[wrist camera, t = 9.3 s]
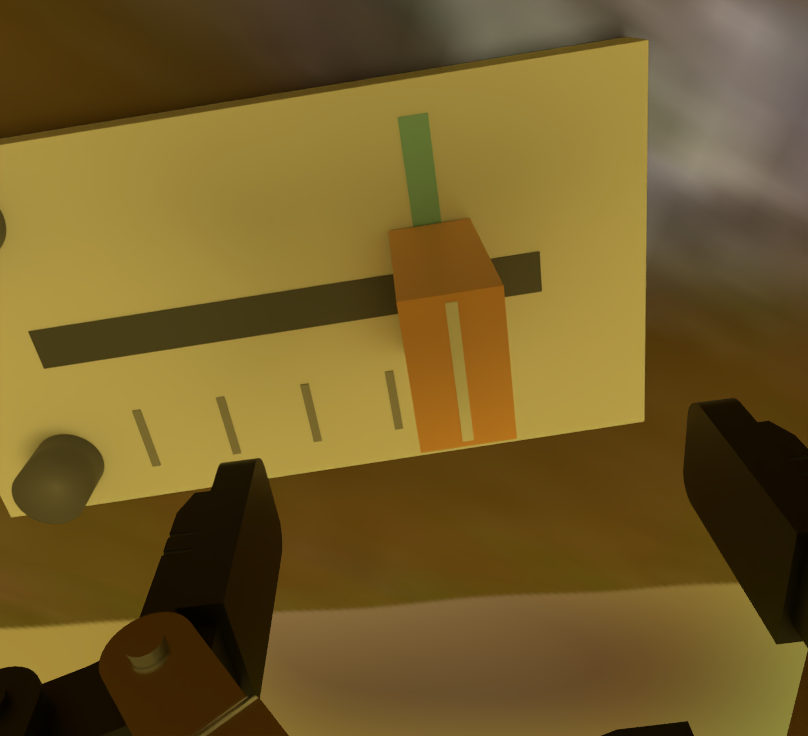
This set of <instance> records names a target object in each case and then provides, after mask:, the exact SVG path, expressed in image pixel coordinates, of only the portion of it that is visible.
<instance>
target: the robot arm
mask: <svg viewBox="0 0 808 736" xmlns="http://www.w3.org/2000/svg"><path fill="white" fill-rule="evenodd" d="M683 475H684V483H685V488H686V492H687V495H688V498H689V500H690V503H691V504H692V506H693V508H694V509H695V511H696V513H697V514H698V516H699V518H700V519H701V521H702V523H703V524H704V526H705V527H706V529H707V531H708V532H709V534H710V536H711V537H712V539H713V541H714V542H715V544H716V546H717V547H718V549H719V550H720V552H721V554H722V555H723V557H724V559H725V560H726V562H727V564H728V565H729V567H730V569H731V570H732V572H733V574H734V575H735V577H736V578H737V580H738V582H739V583H740V585H741V587H742V588H743V590H744V592H745V593H746V595H747V596H748V598H749V600H750V601H751V603H752V605H753V606H754V608H755V610H756V611H757V613H758V615H759V616H760V618H761V619H762V621H763V623H764V624H765V626H766V628H767V629H768V631H769V633H770V634H771V636H772V638H773V639H774V641H775V643H776V644H784V643H792V642H801V641H804V643H805V644H806V646H807V648H808V449H807V448H806V447H805V445H804V444H803V443H802V442H801V441H800V440H799V439H798V438H797V437H796V436H795V435H793V434H792V433H790V432H788V431H786V430H784V429H783V428H781V427H779V426H777V425H775V424H774V423H772V422H770V421H764V422H757V421H756V420H755V419H754V418H753V417H752V416H751V414H750V413H749V412H748V411H747V410H746V409H745V407H744V406H743V405H742V404H741V403H740V402H739V401H738V400H737V399H735V398H730V399H722V400H714V401H707V402H699V403H693V404H691V406H690V407H689V411H688V418H687V431H686V443H685V456H684V469H683ZM163 552H164V555H163V556H161V559H160V562H159V565H158V568H157V570H156V573H155V576H154V579H153V582H152V584H151V587H150V590H149V593H148V596H147V598H146V601H145V604H144V607H143V609H142V612H141V615H140V618H138V619H136V620H135V621H133V622H131V623H129V624H128V625H126V626H125V627H123V628H122V629H121V630H120V631H119V632H117V633H116V634H115V635H114V636H113V637H112V638H111V640H110V641H109V642H108V644H107V645H106V646H105V648H104V650H103V652H102V655H101V658H100V660H99V661H98V662H96V663H94V664H92V665H90V666H87V667H85V668H82V669H80V670H77V671H75V672H72V673H70V674H67V675H64V676H62V677H59V678H57V679H54V680H51V681H49V682H46V683H44V684H42V683H41V681H40V679H39V678H38V676H37V675H36V674H35V673H34V672H33V671H32V670H30V669H28V668H24V667H16V666H14V667H6V668H2V669H0V736H288V734H287V733H286V732H285V730H284V729H283V728H282V727H281V725H280V724H279V723H278V721H277V720H276V719H275V718H274V716H273V715H272V714H271V712H270V711H269V710H268V708H267V707H266V706H265V705H264V704H263V702H262V701H261V700H260V693H261V686H262V680H263V674H264V667H265V660H266V654H267V647H268V641H269V634H270V628H271V620H272V614H273V608H274V601H275V595H276V588H277V582H278V575H279V568H280V562H281V555H282V533H281V526H280V521H279V517H278V513H277V509H276V506H275V502H274V498H273V495H272V491H271V488H270V484H269V480H268V477H267V473H266V469H265V466H264V463H263V461H262V460H261V459H260V458H255V459H247V460H239V461H231V462H224V463H220V464H219V466H218V469H217V472H216V475H215V479H214V482H213V485H212V488H211V491H207V492H199V493H194V494H193V496H192V497H191V498H190V499H189V500H188V501H187V502H186V503H185V505H184V506H183V507H182V508H181V509H180V510H179V511H178V512H177V515H176V517H175V520H174V523H173V526H172V529H171V531H170V538H168V540H167V542H166V545H165V548H164V551H163ZM602 736H694V735H693V733H692V730H691V728H690V726H689V723H688V721H686V722H678V723H669V724H662V725H653V726H645V727H636V728H627V729H619V730H615V731H612V732H610V733H607V734H605V735H602ZM787 736H808V652H807V656H806V661H805V664H804V668H803V672H802V676H801V681H800V685H799V688H798V693H797V697H796V701H795V705H794V709H793V713H792V717H791V721H790V725H789V729H788V733H787Z"/></svg>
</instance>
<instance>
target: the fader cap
mask: <svg viewBox="0 0 808 736" xmlns="http://www.w3.org/2000/svg"><path fill="white" fill-rule="evenodd" d="M388 233H389V242H390V251H391V260H392V268H393V277H394V286H395V294H396V303H397V309H398V315H399V321H400V328H401V334H402V340H403V346H404V352H405V358H406V365H407V371H408V377H409V383H410V389H411V395H412V401H413V408H414V414H415V420H416V426H417V432H418V438H419V445H420V451H421V453H425V452H431V451H438V450H444V449H451V448H458V447H464V446H471V445H477V444H484V443H491V442H497V441H504V440H510V439H517V433H516V422H515V410H514V399H513V387H512V376H511V364H510V353H509V341H508V329H507V318H506V306H505V295H504V285H503V283H502V281H501V279H500V277H499V275H498V273H497V271H496V269H495V267H494V265H493V263H492V261H491V259H490V257H489V255H488V253H487V251H486V249H485V247H484V245H483V243H482V241H481V239H480V237H479V235H478V233H477V231H476V229H475V227H474V225H473V223H472V221H471V219H470V218H468V219H462V220H456V221H449V222H443V223H437V224H430V225H424V226H418V227H411V228H405V229H399V230H392V231H388Z"/></svg>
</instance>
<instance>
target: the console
mask: <svg viewBox="0 0 808 736" xmlns="http://www.w3.org/2000/svg"><path fill="white" fill-rule="evenodd" d="M647 127H648V40H645V39H637V38H630V37H623V38H616V39H610V40H604V41H598V42H592V43H586V44H579V45H573V46H567V47H561V48H555V49H549V50H542V51H536V52H530V53H524V54H518V55H512V56H505V57H499V58H493V59H487V60H481V61H475V62H469V63H462V64H456V65H450V66H444V67H438V68H432V69H425V70H419V71H413V72H407V73H401V74H395V75H388V76H382V77H376V78H370V79H364V80H358V81H351V82H345V83H339V84H333V85H327V86H321V87H314V88H308V89H302V90H296V91H290V92H284V93H278V94H271V95H265V96H259V97H253V98H247V99H241V100H234V101H228V102H222V103H216V104H210V105H204V106H197V107H191V108H185V109H179V110H173V111H167V112H160V113H154V114H148V115H142V116H136V117H130V118H124V119H117V120H111V121H105V122H99V123H93V124H87V125H80V126H74V127H68V128H62V129H56V130H50V131H43V132H37V133H31V134H25V135H19V136H13V137H6V138H0V496H1V498H2V500H3V502H4V504H5V506H6V508H7V510H8V512H9V514H10V516H11V517H17V516H23V515H27V516H29V517H31V518H33V519H35V520H37V521H40V522H44V523H49V524H61V523H66V522H69V521H71V520H74V519H75V518H77V517H78V516H79V515H80V514H81V513H82V511H83V509H84V507H85V506H89V505H96V504H103V503H109V502H116V501H122V500H129V499H136V498H142V497H149V496H155V495H162V494H169V493H175V492H182V491H188V490H195V489H202V488H208V487H212V485H213V482H214V479H215V475H216V472H217V469H218V466H219V464H220V463H224V462H231V461H239V460H247V459H255V458H260V459H261V460H262V461H263V463H264V466H265V469H266V473H267V477H268V478H274V477H281V476H287V475H294V474H301V473H307V472H314V471H320V470H327V469H334V468H340V467H347V466H353V465H360V464H367V463H373V462H380V461H386V460H393V459H400V458H406V457H413V456H419V455H426V454H433V453H439V452H446V451H452V450H459V449H466V448H472V447H479V446H485V445H492V444H498V443H505V442H512V441H518V440H525V439H531V438H538V437H545V436H551V435H558V434H564V433H571V432H578V431H584V430H591V429H597V428H604V427H611V426H617V425H624V424H630V423H637V422H644V397H645V307H646V217H647ZM468 218H470V219H471V221H472V223H473V225H474V227H475V229H476V231H477V233H478V235H479V237H480V239H481V241H482V243H483V245H484V247H485V249H486V251H487V253H488V255H489V257H490V259H491V261H492V263H493V265H494V267H495V269H496V271H497V273H498V275H499V277H500V279H501V281H502V283H503V285H504V295H505V306H506V318H507V329H508V341H509V353H510V364H511V376H512V387H513V399H514V410H515V422H516V433H517V439H510V440H504V441H497V442H491V443H484V444H477V445H471V446H464V447H458V448H451V449H444V450H438V451H431V452H425V453H421V451H420V445H419V438H418V432H417V426H416V420H415V414H414V408H413V401H412V395H411V389H410V383H409V377H408V371H407V365H406V358H405V352H404V346H403V340H402V334H401V328H400V321H399V315H398V309H397V303H396V294H395V286H394V277H393V268H392V260H391V251H390V242H389V233H388V231H392V230H399V229H405V228H411V227H418V226H424V225H430V224H437V223H443V222H449V221H456V220H462V219H468Z"/></svg>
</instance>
